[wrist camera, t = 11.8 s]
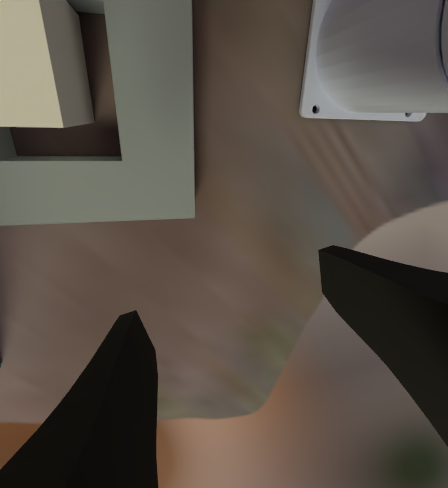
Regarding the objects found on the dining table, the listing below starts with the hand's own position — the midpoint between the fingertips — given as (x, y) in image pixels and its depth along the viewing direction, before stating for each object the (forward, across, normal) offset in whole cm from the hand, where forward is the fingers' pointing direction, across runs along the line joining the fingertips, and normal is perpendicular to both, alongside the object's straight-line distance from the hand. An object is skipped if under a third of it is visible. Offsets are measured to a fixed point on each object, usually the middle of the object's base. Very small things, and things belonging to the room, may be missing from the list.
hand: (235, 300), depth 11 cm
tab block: (+10, +5, -10) cm, 15 cm away
